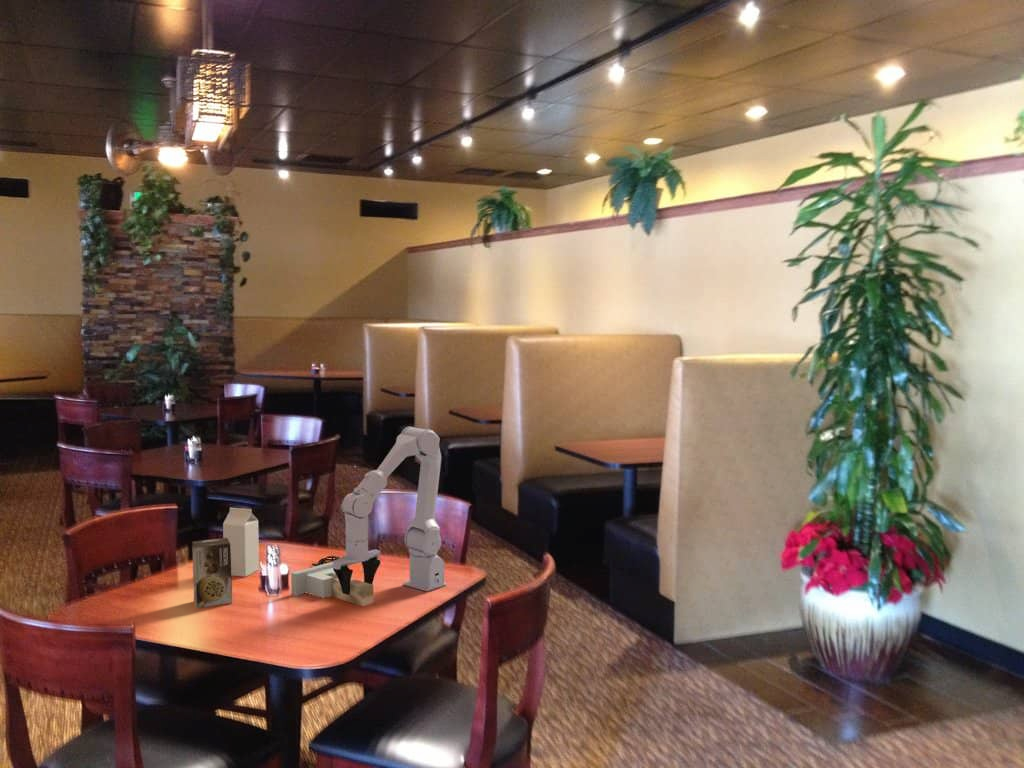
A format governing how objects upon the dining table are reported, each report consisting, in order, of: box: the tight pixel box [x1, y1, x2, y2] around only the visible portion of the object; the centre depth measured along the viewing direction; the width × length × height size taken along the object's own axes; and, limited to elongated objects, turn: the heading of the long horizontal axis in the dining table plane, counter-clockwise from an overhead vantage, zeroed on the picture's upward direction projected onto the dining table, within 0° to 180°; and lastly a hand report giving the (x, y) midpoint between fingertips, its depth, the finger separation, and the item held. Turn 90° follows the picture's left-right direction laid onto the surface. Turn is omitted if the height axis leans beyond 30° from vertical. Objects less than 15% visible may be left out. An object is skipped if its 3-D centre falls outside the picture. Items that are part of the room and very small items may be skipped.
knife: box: [311, 555, 341, 566], centre depth 258 cm, size 25×6×1 cm, turn 165°
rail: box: [332, 577, 375, 607], centre depth 233 cm, size 15×4×5 cm, turn 51°
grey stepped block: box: [290, 562, 338, 599], centre depth 239 cm, size 9×16×6 cm, turn 141°
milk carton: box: [222, 507, 260, 578], centre depth 254 cm, size 7×7×19 cm
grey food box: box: [191, 537, 234, 609], centre depth 228 cm, size 9×6×16 cm
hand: (357, 590), depth 231 cm, fingers open, 7 cm apart
